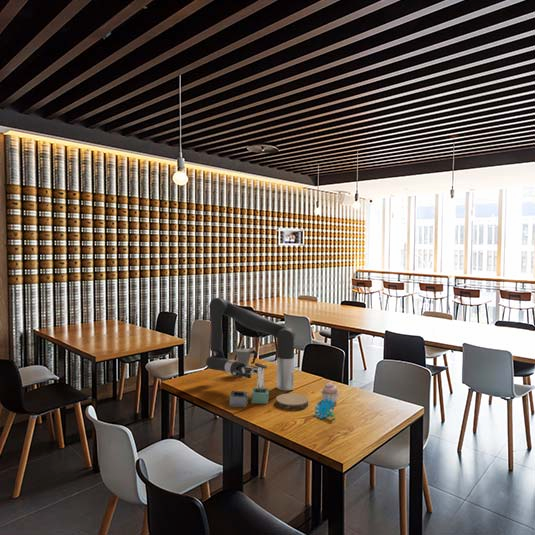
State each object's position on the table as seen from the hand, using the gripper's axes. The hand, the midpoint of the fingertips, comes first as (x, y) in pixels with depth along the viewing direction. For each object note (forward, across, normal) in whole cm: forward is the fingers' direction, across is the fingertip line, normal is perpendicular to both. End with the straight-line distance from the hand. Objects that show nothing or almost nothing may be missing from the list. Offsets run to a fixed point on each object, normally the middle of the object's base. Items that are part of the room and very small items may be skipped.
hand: (256, 374), depth 209 cm
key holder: (+3, 0, +12) cm, 13 cm away
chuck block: (0, -11, +12) cm, 17 cm away
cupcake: (+28, +25, +13) cm, 40 cm away
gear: (+38, +7, +13) cm, 41 cm away
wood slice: (+17, +8, +13) cm, 23 cm away
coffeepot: (-34, +25, +13) cm, 44 cm away
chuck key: (+3, 0, +12) cm, 13 cm away
